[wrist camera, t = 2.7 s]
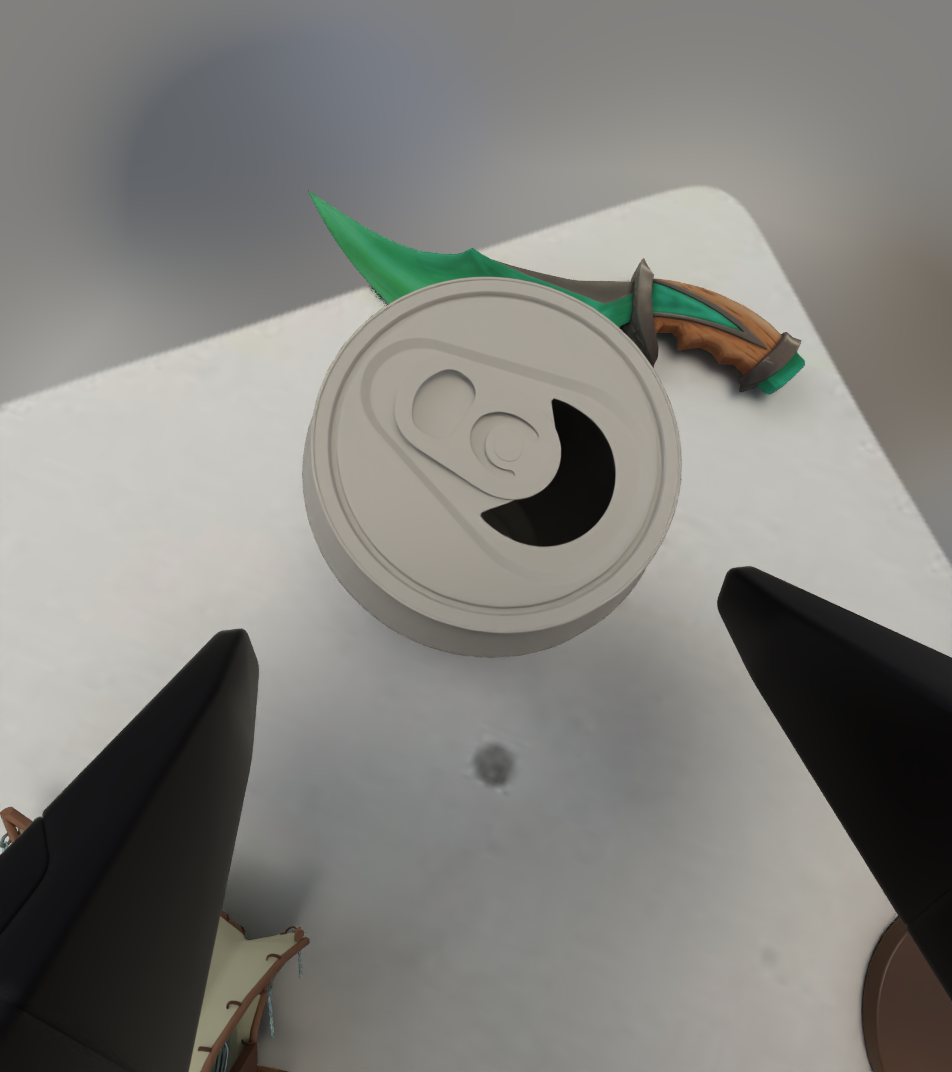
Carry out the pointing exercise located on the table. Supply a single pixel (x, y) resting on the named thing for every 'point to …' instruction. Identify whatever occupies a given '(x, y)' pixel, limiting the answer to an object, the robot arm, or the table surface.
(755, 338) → the knife
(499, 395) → the beverage can
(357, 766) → the table surface
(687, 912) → the table surface
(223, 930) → the figurine
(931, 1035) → the coaster
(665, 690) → the table surface
